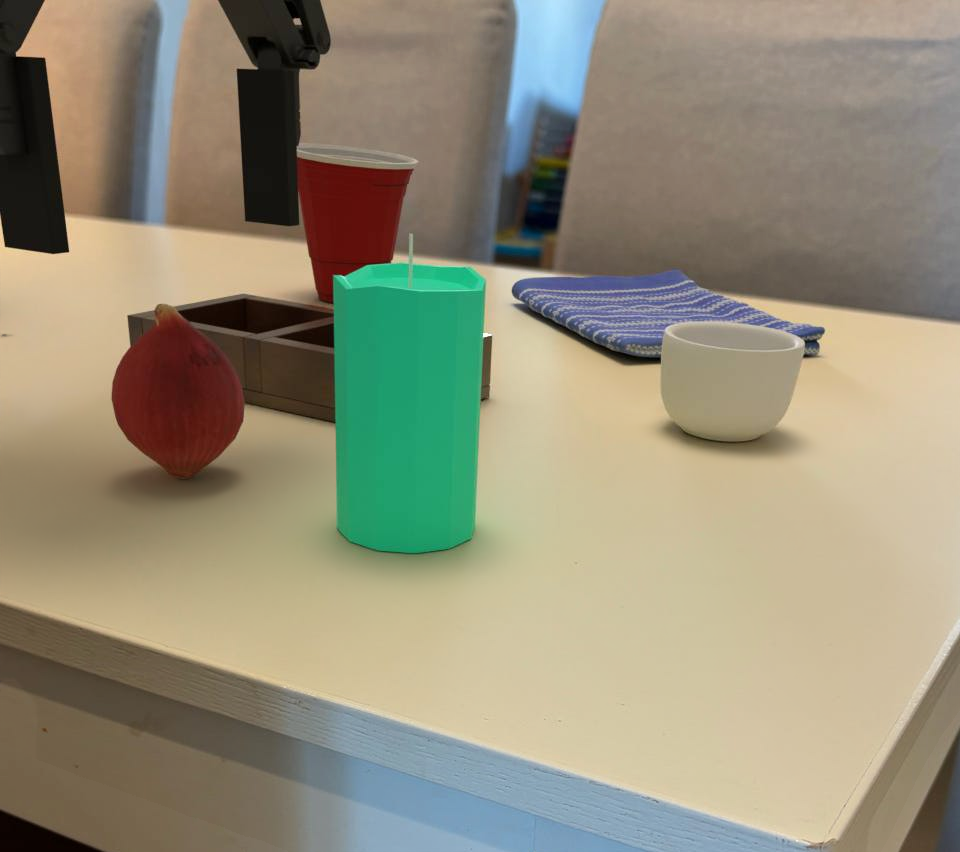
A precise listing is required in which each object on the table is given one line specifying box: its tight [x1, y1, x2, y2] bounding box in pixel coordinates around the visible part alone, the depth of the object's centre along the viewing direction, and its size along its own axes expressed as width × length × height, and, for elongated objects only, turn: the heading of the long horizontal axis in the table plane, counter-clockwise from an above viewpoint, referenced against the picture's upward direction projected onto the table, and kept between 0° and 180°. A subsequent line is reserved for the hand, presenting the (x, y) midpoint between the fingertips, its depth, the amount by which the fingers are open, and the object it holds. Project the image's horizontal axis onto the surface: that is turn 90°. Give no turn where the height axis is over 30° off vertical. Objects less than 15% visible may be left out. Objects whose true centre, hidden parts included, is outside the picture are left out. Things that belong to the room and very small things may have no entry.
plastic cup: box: [297, 142, 420, 304], centre depth 93 cm, size 11×11×12 cm
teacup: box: [659, 322, 805, 443], centre depth 63 cm, size 10×8×5 cm
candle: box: [333, 233, 487, 554], centre depth 45 cm, size 6×6×12 cm
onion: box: [110, 303, 246, 480], centre depth 50 cm, size 6×6×8 cm
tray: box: [126, 293, 493, 423], centre depth 67 cm, size 20×10×4 cm, turn 59°
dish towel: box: [511, 269, 826, 358], centre depth 89 cm, size 17×24×3 cm
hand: (167, 236), depth 47 cm, fingers open, 13 cm apart
